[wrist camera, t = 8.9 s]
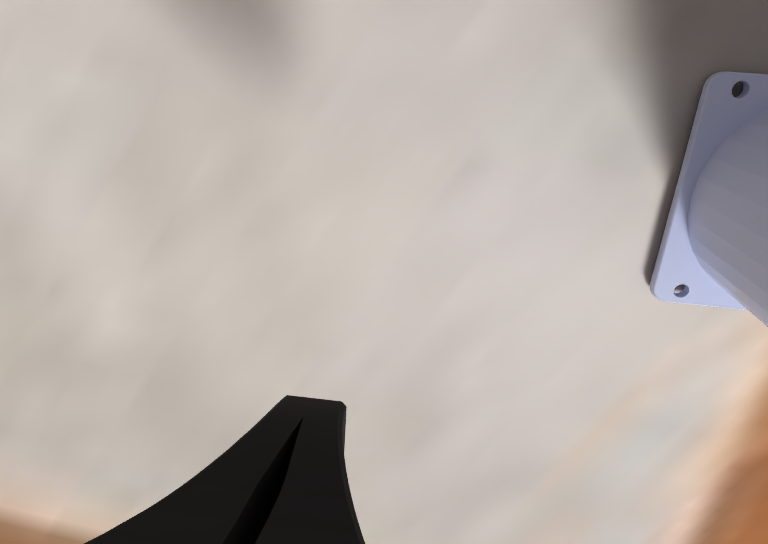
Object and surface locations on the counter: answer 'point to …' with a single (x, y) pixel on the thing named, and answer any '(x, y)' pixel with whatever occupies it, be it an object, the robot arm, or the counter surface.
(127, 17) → the counter surface
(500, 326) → the counter surface
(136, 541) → the robot arm
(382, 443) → the counter surface
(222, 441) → the counter surface
